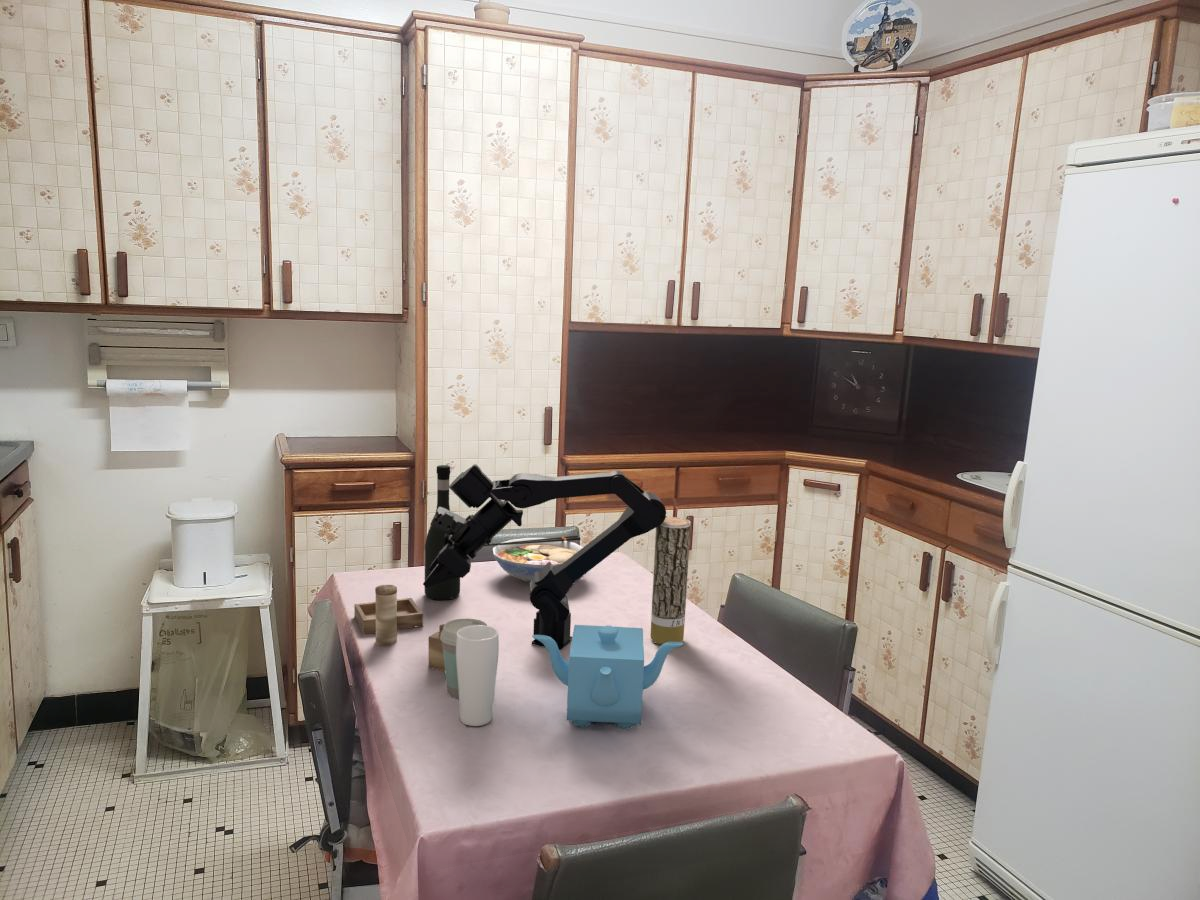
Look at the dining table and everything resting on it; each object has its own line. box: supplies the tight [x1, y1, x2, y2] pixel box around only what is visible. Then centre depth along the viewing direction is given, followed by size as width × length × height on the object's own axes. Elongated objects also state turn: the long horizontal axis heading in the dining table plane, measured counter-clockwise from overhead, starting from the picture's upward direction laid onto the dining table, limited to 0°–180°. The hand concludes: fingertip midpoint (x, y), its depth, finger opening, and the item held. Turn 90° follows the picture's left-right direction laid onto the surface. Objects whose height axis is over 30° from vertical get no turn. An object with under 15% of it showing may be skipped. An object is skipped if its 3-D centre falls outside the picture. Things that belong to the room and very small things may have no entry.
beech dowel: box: [374, 584, 398, 647], centre depth 173 cm, size 4×4×11 cm
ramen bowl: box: [483, 534, 584, 584], centre depth 214 cm, size 25×23×8 cm
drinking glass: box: [456, 625, 500, 727], centre depth 142 cm, size 7×7×15 cm
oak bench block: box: [427, 623, 446, 672], centre depth 161 cm, size 3×10×8 cm, turn 68°
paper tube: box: [649, 516, 691, 646], centre depth 178 cm, size 7×7×25 cm
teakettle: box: [531, 624, 684, 729], centre depth 146 cm, size 19×19×15 cm
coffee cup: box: [440, 618, 488, 700], centre depth 152 cm, size 8×9×12 cm
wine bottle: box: [423, 464, 461, 601], centre depth 199 cm, size 8×8×30 cm
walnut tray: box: [353, 597, 424, 635], centre depth 184 cm, size 12×10×3 cm
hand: (427, 578), depth 172 cm, fingers open, 9 cm apart
